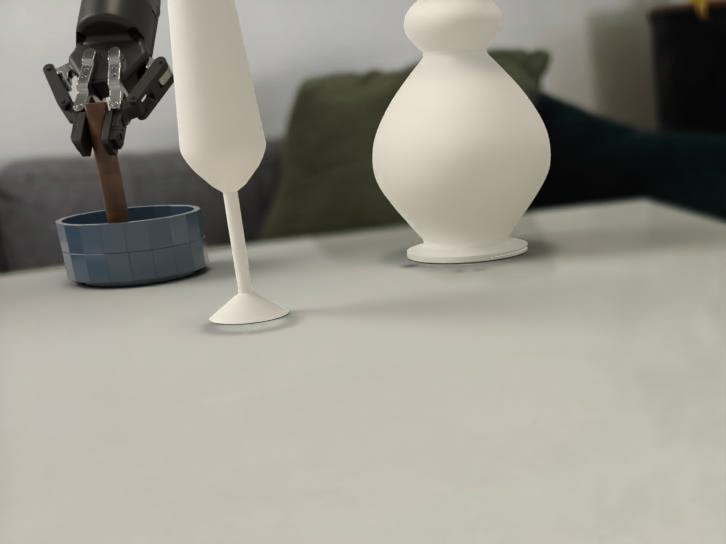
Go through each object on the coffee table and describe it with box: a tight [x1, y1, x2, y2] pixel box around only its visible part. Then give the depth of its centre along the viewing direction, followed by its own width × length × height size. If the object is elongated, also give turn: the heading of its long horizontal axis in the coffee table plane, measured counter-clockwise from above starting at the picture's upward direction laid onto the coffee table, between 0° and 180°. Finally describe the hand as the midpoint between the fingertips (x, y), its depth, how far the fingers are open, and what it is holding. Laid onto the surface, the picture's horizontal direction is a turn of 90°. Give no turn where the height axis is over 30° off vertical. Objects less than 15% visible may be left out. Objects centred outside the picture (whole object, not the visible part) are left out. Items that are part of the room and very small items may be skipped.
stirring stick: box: [84, 101, 130, 223], centre depth 113 cm, size 5×5×14 cm
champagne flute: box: [166, 0, 290, 325], centre depth 89 cm, size 7×7×24 cm
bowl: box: [55, 204, 210, 287], centre depth 115 cm, size 14×14×6 cm
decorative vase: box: [371, 0, 552, 264], centre depth 111 cm, size 18×18×25 cm
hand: (95, 149), depth 110 cm, fingers closed on stirring stick
